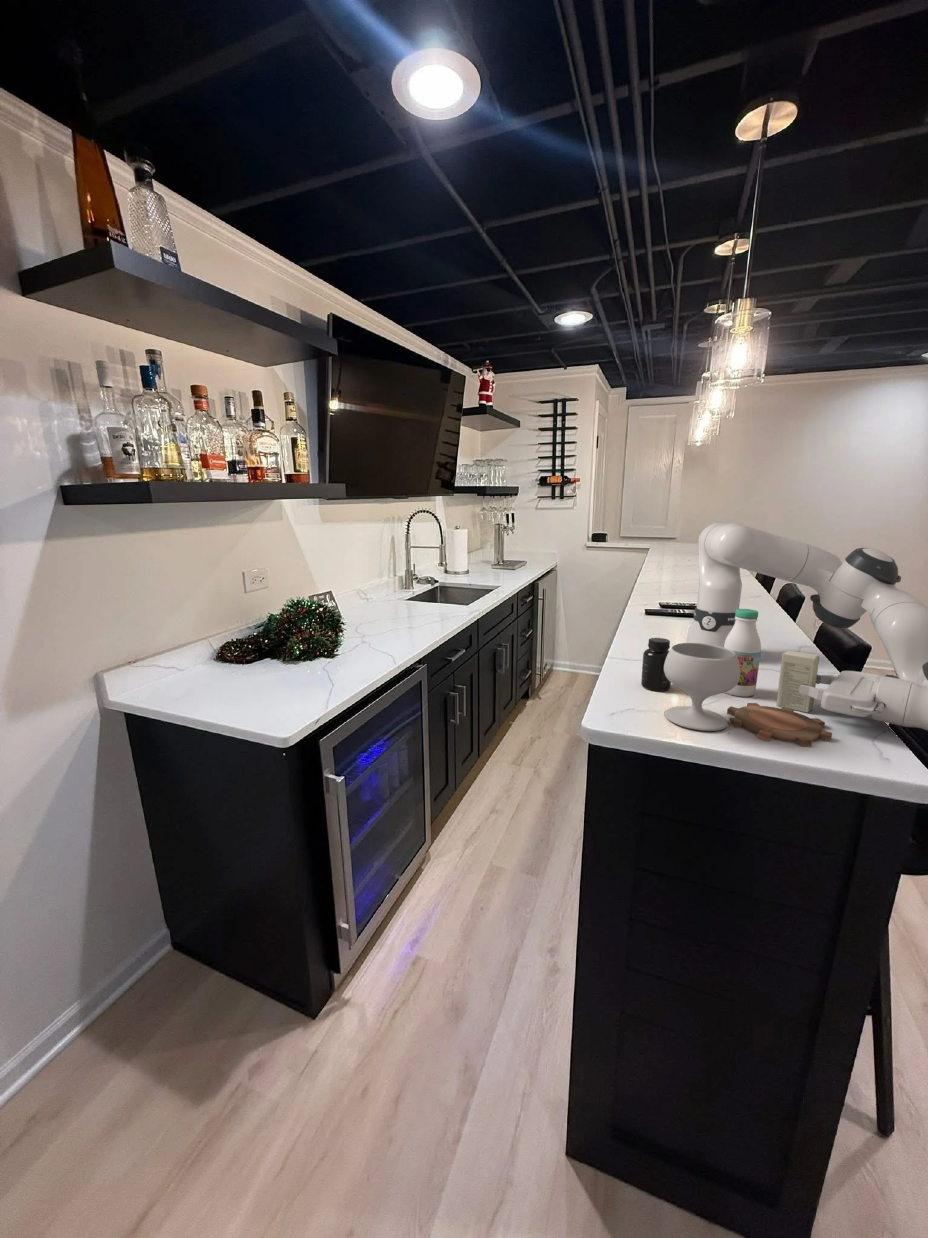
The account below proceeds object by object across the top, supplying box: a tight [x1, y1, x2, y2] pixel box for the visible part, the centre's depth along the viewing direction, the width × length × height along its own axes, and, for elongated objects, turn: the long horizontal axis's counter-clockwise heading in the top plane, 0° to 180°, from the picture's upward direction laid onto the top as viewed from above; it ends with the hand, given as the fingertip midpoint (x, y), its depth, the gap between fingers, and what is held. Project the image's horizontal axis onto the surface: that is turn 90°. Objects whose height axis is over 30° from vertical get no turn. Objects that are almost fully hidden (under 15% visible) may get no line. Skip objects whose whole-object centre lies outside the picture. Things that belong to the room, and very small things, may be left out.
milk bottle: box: [723, 608, 762, 698], centre depth 117 cm, size 8×8×20 cm
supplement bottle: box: [640, 637, 672, 692], centre depth 121 cm, size 7×7×12 cm
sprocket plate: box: [726, 702, 833, 747], centre depth 100 cm, size 18×18×1 cm
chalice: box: [663, 642, 740, 732], centre depth 101 cm, size 14×14×15 cm
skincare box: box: [775, 649, 820, 713], centre depth 109 cm, size 6×4×12 cm
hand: (805, 682), depth 108 cm, fingers open, 8 cm apart
